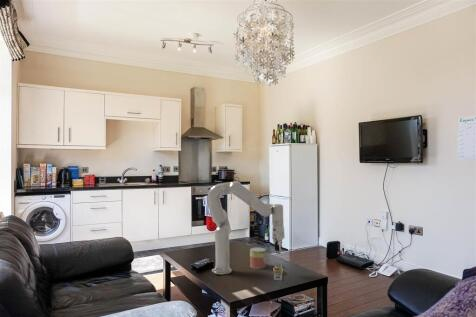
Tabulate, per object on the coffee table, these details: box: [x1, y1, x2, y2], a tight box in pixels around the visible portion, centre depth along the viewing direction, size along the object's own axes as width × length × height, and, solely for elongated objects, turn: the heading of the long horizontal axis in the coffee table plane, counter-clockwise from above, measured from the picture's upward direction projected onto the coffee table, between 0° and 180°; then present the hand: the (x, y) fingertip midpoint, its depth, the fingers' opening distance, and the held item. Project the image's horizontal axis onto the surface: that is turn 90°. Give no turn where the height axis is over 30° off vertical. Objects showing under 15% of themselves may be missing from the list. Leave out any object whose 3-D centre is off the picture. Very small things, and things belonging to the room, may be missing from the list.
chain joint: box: [272, 263, 284, 281], centre depth 217 cm, size 27×7×2 cm, turn 172°
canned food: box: [249, 247, 267, 270], centre depth 232 cm, size 11×11×12 cm
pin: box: [275, 239, 282, 255], centre depth 217 cm, size 4×4×10 cm
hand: (278, 249), depth 217 cm, fingers closed on pin, 3 cm apart
